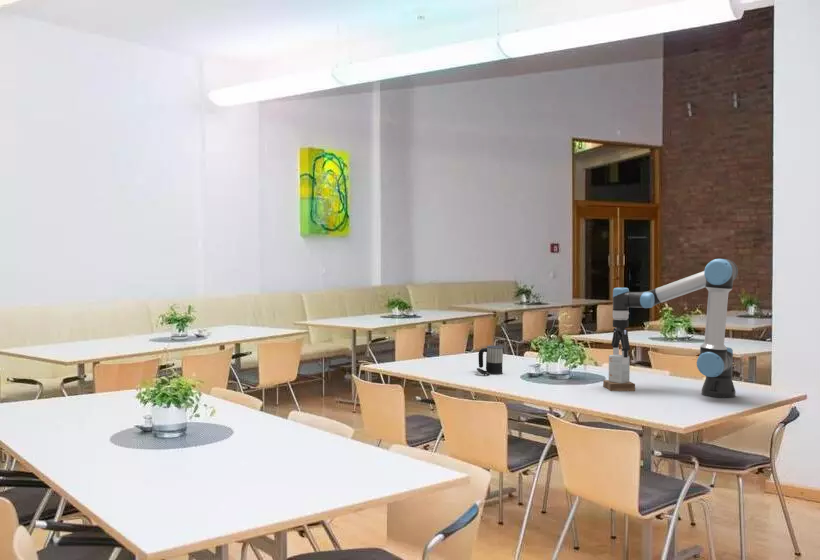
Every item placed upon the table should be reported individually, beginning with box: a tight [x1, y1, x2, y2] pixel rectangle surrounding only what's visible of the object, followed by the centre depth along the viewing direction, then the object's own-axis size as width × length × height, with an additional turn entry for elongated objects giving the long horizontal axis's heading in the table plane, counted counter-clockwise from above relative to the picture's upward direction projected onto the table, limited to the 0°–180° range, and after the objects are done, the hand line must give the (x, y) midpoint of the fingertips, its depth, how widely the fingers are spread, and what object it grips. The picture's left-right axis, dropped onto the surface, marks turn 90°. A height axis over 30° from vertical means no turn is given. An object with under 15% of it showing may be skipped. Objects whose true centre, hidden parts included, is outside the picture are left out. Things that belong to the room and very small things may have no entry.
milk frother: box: [476, 345, 504, 376], centre depth 444 cm, size 14×16×15 cm
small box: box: [608, 354, 631, 383], centre depth 402 cm, size 8×6×13 cm
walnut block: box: [602, 379, 636, 392], centre depth 402 cm, size 12×12×4 cm
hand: (620, 362), depth 402 cm, fingers open, 13 cm apart
